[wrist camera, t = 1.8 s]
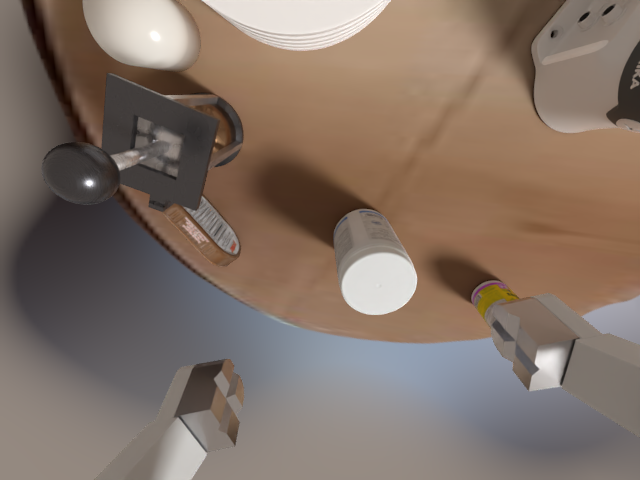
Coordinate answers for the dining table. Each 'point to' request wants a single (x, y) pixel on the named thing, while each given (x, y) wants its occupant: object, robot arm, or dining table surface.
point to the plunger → (108, 163)
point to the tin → (206, 232)
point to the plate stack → (299, 20)
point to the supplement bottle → (491, 298)
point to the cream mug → (145, 32)
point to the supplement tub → (372, 263)
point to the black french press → (182, 117)
